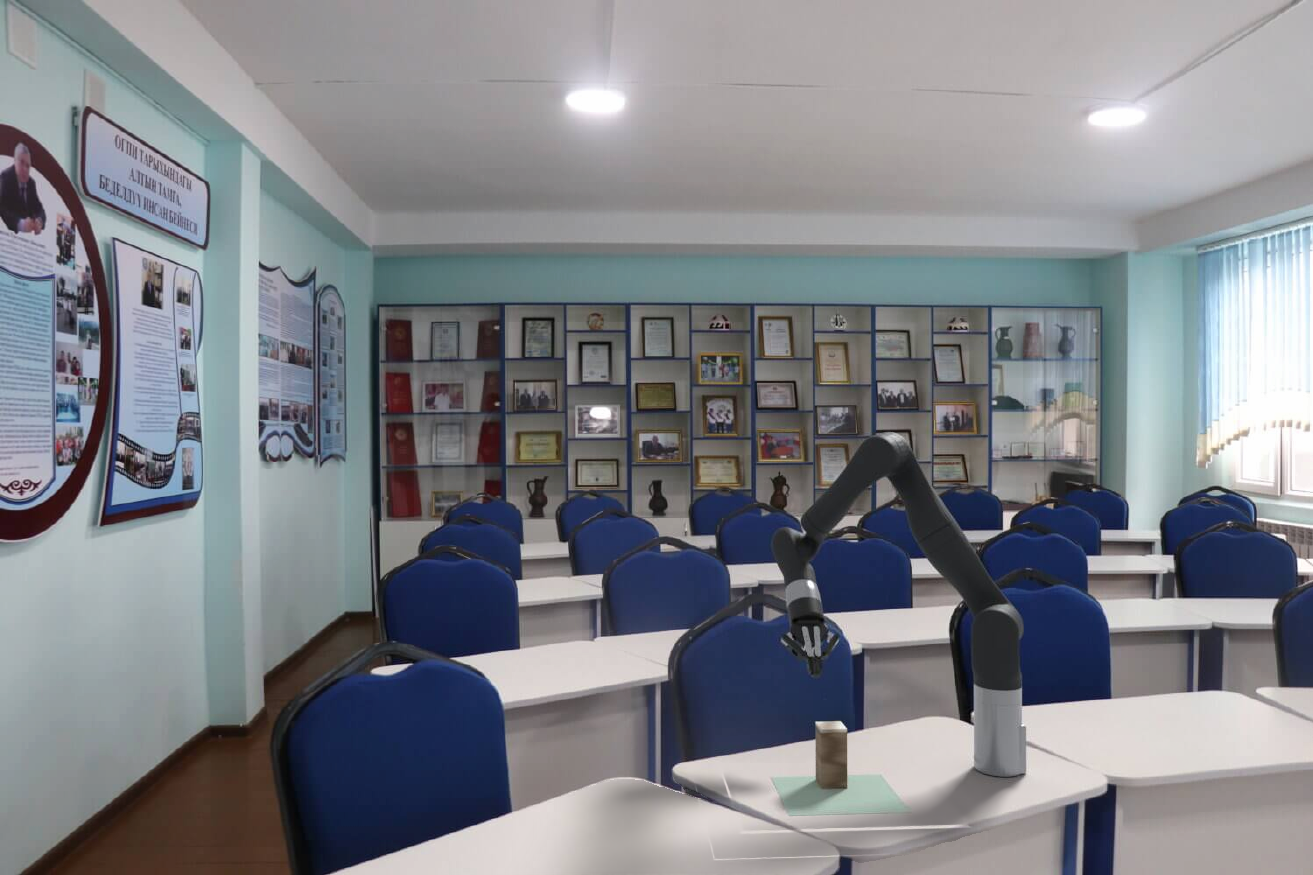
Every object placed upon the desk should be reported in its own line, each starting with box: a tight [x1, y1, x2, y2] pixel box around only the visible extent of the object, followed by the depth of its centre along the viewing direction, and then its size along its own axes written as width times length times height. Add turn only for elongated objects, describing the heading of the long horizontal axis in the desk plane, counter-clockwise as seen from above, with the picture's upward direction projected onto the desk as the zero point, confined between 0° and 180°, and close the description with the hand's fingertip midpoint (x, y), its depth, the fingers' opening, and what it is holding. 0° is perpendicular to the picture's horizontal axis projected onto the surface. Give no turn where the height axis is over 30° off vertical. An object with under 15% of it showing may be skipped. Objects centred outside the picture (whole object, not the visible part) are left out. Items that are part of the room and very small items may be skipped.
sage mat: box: [770, 773, 912, 817], centre depth 182 cm, size 22×19×1 cm
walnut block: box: [814, 720, 848, 789], centre depth 187 cm, size 5×5×11 cm
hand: (816, 675), depth 199 cm, fingers closed
